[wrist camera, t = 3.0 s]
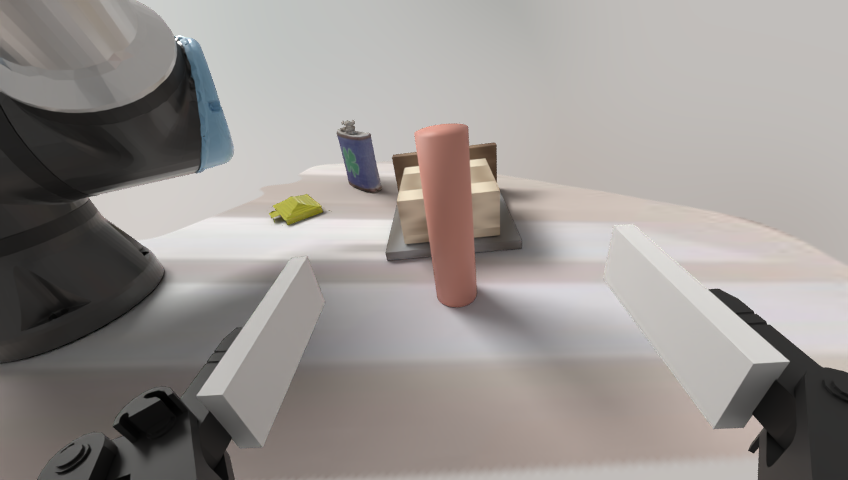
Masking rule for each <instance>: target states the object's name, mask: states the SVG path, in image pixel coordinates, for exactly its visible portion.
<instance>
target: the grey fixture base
mask: <svg viewBox="0 0 848 480" xmlns="http://www.w3.org/2000/svg"><path fill="white" fill-rule="evenodd" d="M469 154H470V160H475V159H484V158H485V159H486V161H487V163H488V165H489V167H490V170H491V172H492V174H493V176H494V178H495V181H496V183H497V164H496V163H497V161H496V160H497V155H496V143H488V144H479V145H471V146H469ZM392 159H393V165H394V170H395V176H396V181H397V186H398V192H399V190H400V186H401V181H402V177H403V173H404V169H405V168H406V167H415V166H419V163H418V156H417V152H413V153H404V154H396V155H393V157H392ZM474 248H475V253H476V252H487V251H498V250H509V249H520V248H522V239H521V237H520V235H519V232H518V230H517V228H516V226H515V224H514V221H513V219H512V217H511V215H510V212H509V210H508V208H507V206H506V204H505V201H504V199H503V197H502V195H501V192H500V235H497V236H486V237H476V238H474ZM386 257H387V260H398V259H409V258H420V257H431V249H430V242H423V243H412V244H405V242H404V237H403V232H402V227H401V221H400V216H399V211H398V205H396V210H395V214H394V218H393V223H392V227H391V231H390V236H389V240H388V244H387V249H386Z"/></svg>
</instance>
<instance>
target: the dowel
mask: <svg viewBox="0 0 848 480" xmlns="http://www.w3.org/2000/svg"><path fill="white" fill-rule="evenodd" d="M415 142H416V149H417V156H418V163H419V170H420V178H421V185H422V192H423V199H424V206H425V213H426V220H427V227H428V235H429V242H430V249H431V256H432V263H433V270H434V277H435V285H436V292H437V298H438V300H439V301H440V302H441V303H442V304H444V305H446V306H449V307H463V306H466V305H468V304H470V303H472V302H473V301H474V300H475V298H476V296H477V286H476V267H475V248H474V229H473V210H472V192H471V173H470V154H469V135H468V126H466V125H463V124H441V125H434V126H429V127H426V128H422V129H420V130H418V131H416V132H415Z"/></svg>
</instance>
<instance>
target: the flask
mask: <svg viewBox="0 0 848 480" xmlns="http://www.w3.org/2000/svg"><path fill="white" fill-rule="evenodd" d="M341 123H342V125H343V124H344V121H342V122H341ZM354 124H355V121H354V120H352V122H350V121H348V120H347V121H345V124H344V125H346V127H343V128H340V129H338V131H337V136H338V139H339V143H340V147H341V151H342V155H343V159H344V163H345V167H346V171H347V176H348V181H349V184H350V185H351V186H353V187H355V188H358V189H360V190H363V191H365V192H371V193H374V192H378V191H376V190H381V188H382V186H381V183H380V178H379V174H378V169H377V165H376V160H375V155H374V150H373V145H372V140H371V134H370V133H364V132H358V131H355V126H353V125H354ZM375 189H376V190H375Z"/></svg>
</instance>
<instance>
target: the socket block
mask: <svg viewBox="0 0 848 480" xmlns="http://www.w3.org/2000/svg"><path fill="white" fill-rule="evenodd" d="M470 173H471V192H472V210H473V229H474V238H476V237H486V236H497V235H500V189H499V187H498V185H497V183H496V181H495V178H494V176H493V174H492V172H491V170H490V167H489V165H488V163H487V161H486V159H485V158H484V159H475V160H470ZM397 205H398V211H399V216H400V221H401V227H402V232H403V237H404V242H405V244H412V243H423V242H429V235H428V227H427V220H426V213H425V206H424V199H423V192H422V185H421V178H420V170H419V166H415V167H406V168H405V169H404V173H403V177H402V181H401V186H400V190H399V194H398V198H397Z"/></svg>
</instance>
